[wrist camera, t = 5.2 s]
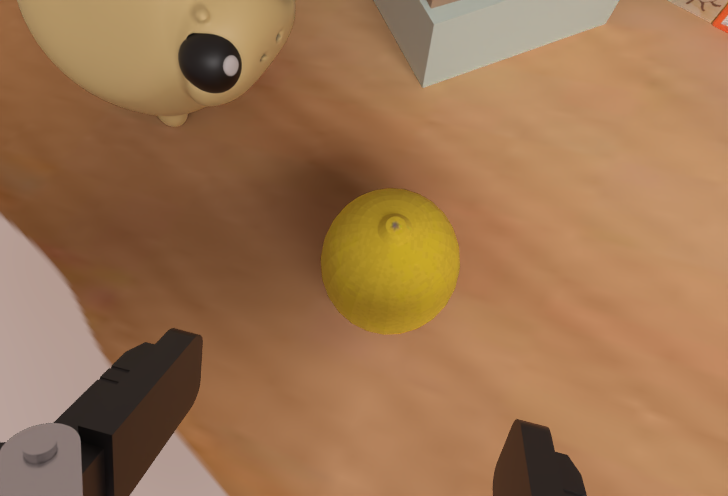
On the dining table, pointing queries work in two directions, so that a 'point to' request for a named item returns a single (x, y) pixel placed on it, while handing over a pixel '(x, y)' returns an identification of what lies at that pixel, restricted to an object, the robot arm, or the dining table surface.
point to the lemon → (390, 261)
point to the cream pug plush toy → (161, 48)
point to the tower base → (482, 30)
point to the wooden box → (439, 2)
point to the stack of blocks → (707, 11)
